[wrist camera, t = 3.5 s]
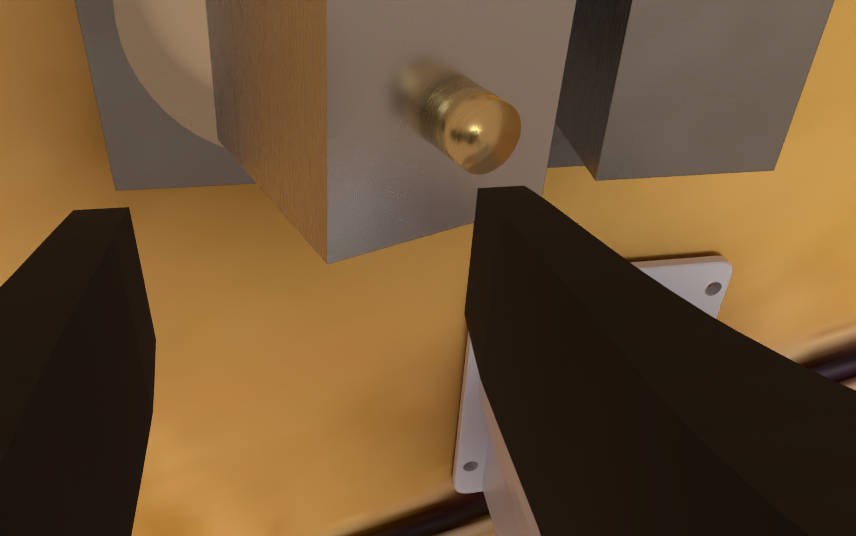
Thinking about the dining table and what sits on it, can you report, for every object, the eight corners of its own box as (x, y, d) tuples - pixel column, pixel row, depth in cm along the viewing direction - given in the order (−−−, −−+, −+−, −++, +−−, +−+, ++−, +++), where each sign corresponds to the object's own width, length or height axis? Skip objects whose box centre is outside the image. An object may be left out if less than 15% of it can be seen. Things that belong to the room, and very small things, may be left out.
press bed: (662, 151, 22) (746, 247, 18) (118, 179, 19) (91, 297, 15) (749, -186, 17) (886, -146, 13) (36, -210, 14) (-29, -168, 11)
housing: (405, 103, 18) (575, 228, 14) (217, 139, 16) (356, 297, 12) (416, -107, 16) (628, -26, 12) (196, -98, 14) (363, 5, 10)
